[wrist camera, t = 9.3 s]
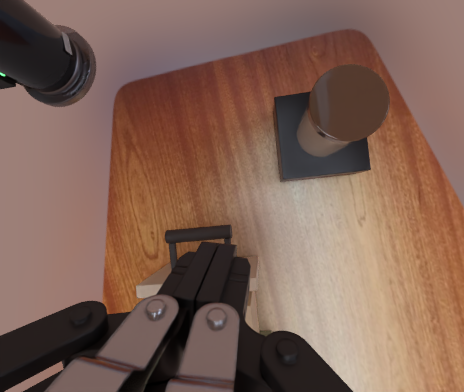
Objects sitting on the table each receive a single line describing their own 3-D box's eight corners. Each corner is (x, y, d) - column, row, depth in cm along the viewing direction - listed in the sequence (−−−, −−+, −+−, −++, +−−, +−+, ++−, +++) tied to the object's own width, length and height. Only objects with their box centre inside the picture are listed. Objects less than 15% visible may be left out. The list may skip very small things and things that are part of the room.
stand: (280, 182, 33) (283, 179, 28) (272, 111, 34) (274, 96, 29) (354, 173, 32) (370, 169, 27) (346, 101, 32) (361, 84, 27)
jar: (297, 162, 28) (313, 145, 19) (292, 110, 28) (305, 70, 19) (352, 155, 28) (394, 135, 19) (346, 102, 28) (385, 57, 19)
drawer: (165, 226, 34) (130, 237, 25) (254, 218, 33) (251, 226, 24) (180, 376, 34) (150, 439, 25) (270, 373, 33) (273, 440, 24)
